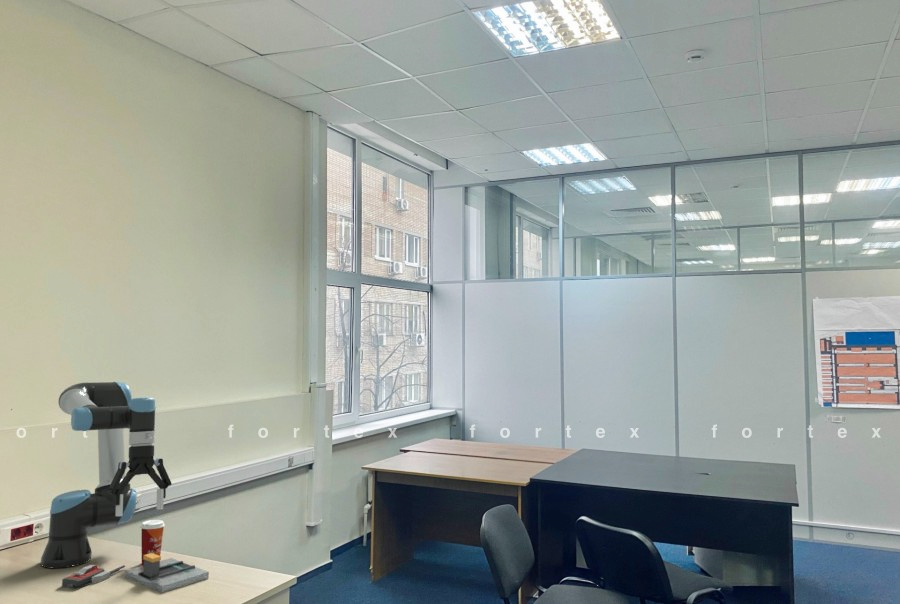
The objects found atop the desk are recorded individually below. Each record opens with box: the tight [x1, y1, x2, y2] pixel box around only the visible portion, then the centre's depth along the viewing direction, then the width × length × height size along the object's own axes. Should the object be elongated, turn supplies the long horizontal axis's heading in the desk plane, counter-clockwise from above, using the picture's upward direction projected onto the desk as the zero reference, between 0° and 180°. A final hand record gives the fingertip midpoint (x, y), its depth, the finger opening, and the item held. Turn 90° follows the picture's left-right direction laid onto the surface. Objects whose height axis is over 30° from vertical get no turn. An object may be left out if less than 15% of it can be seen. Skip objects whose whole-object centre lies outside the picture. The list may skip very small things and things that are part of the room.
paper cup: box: [140, 519, 166, 566], centre depth 217 cm, size 8×8×14 cm
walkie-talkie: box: [61, 564, 126, 590], centre depth 201 cm, size 9×4×20 cm
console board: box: [124, 557, 210, 594], centre depth 203 cm, size 22×16×3 cm
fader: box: [143, 553, 162, 577], centre depth 199 cm, size 5×3×6 cm, turn 55°
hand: (140, 512), depth 200 cm, fingers open, 13 cm apart
